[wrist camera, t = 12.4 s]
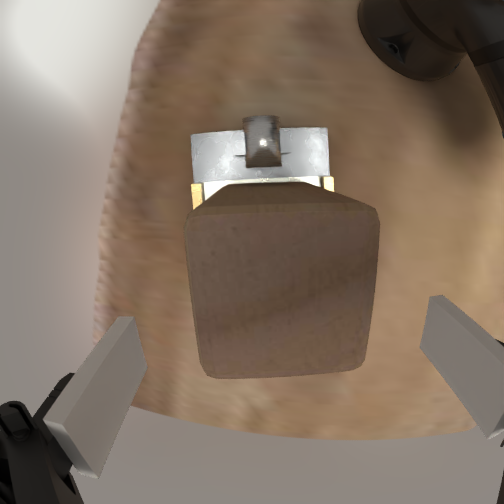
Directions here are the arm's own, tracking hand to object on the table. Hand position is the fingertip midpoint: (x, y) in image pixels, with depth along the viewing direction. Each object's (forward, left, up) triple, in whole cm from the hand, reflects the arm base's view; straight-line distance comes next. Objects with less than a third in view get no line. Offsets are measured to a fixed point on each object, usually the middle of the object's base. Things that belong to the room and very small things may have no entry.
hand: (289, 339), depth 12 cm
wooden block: (0, 0, -23) cm, 23 cm away
